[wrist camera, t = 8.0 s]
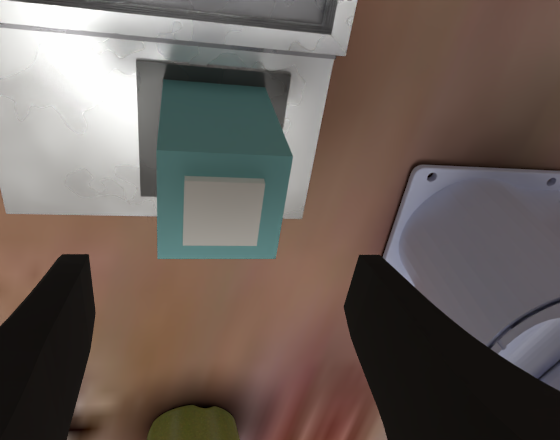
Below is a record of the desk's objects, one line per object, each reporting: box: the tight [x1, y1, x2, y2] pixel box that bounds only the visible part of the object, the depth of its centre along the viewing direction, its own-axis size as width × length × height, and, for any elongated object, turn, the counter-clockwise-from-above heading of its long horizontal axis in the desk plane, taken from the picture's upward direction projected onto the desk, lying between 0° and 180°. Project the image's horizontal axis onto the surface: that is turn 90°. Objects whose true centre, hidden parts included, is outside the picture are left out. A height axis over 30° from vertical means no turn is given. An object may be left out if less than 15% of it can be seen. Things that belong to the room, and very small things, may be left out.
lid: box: [0, 23, 336, 219], centre depth 20 cm, size 13×8×1 cm, turn 82°
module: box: [156, 79, 293, 259], centre depth 17 cm, size 4×4×6 cm
